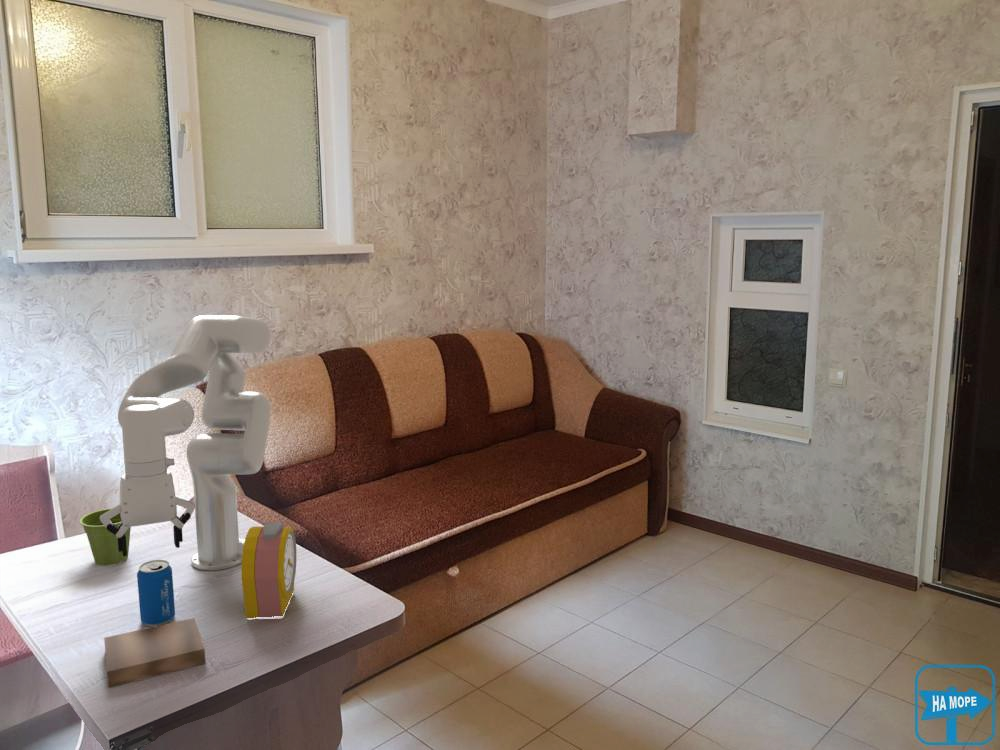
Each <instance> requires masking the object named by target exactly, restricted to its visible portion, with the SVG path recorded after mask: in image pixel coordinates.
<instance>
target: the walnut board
mask: <svg viewBox="0 0 1000 750" xmlns="http://www.w3.org/2000/svg"><path fill="white" fill-rule="evenodd" d="M103 639H104V641H103V642H104V650H105V652H104V653H105V663H106V673H107V683H108V684H107V685H108V688H114V687H116V686H120V685H125V684H129V683H131V682H135V681H141V680H145V679H149V678H152V677H157V676H161V675H164V674H165V675H166V674H169V673H172V672H173V673H174V672H176V671H177V672H178V671H180V670H185V669H189V668H192V667H193V668H194V667H196V665H197V666H200V665H201V666H202V665H204V663H206V651H205V650H206V649H205V646H204V643H203V639H202V637H201V634H200V630H199V628H198V624H197V621H196V618H195V617H192V618H188V619H184V620H180V621H174V622H170V623H169V622H168V623H166V624H164V625H160V626H150V627H147V628H143V629H138V630H134V631H128V632H125V633H120V634H116V635H110V636H106V637H104V638H103Z"/></svg>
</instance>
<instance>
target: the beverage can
mask: <svg viewBox="0 0 1000 750" xmlns="http://www.w3.org/2000/svg"><path fill="white" fill-rule="evenodd" d="M136 578H137V579H136V580H137V590H138V591H137V592H138V603H139V617H140V622H141V623H142V624H144V625H145V626H149V627H155V626H160V625H164V624H169V622H171V620H172V619H174V617H175V616H176V607H175V595H174V580H173V569H172V567H171V565H170V562H169V561H168V560H164V559H154V560H149V561H145V562H143V563H142V564H140V565H139V567H138V571H137V572H136Z"/></svg>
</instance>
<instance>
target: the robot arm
mask: <svg viewBox="0 0 1000 750" xmlns="http://www.w3.org/2000/svg"><path fill="white" fill-rule="evenodd" d="M270 330H271V329H270V327H269V326H268V324H267V322H266V321H265V320H264V319H261V318H257V317H256V318H255V317H248V316H241V315H229V314H228V315H226V314H222V315H221V314H220V315H217V314H215V315H214V314H205V315H203V314H202V315H198V316H194V317H193V318H192V319H190V320H189V321H188V323H187V324H186V326H185V328H184V330H183V331H182V334H181V335H180V337H179V338H178V341H177V343H176V344H175V346H174V348H173V350H172V352H171V354H170V356H169V357H168V358H167V359H164V360H162V361H161V362H159V363H157V364H155V365H153V366H152V367H151V368H149V369H148V370H146V371H145V372H143V373H141V374H140V375H139V376H138V377H136V378H135V380H134V381H132V383H131V384H130V386H129V387H128V389H127V390H126V392H125V394H124V396H123V398H122V400H121V402H120V405H119V408H118V410H117V411H118V413H117V420H118V424H119V426H120V428H121V430H122V431H121V433H122V447H123V461H124V473H123V474H122V475H120V480H119V503H118V504H117V505H116V506H114V507H112V509H111V510H109V511H107V512H106V513H104V514H102V515H101V516H100V521H101V522H102V523H103V525H104V526H105V527H106V528H107V530H108V531H110V532H111V533H113V534H114V535H116V537H117V538H118V551H119V552H121V551H122V553H123V557H125V556H126V555H127V546H126V536H125V532H126V531H127V530H128V528H129V527H131V528H132V527H139V526H146V525H147V526H148V525H154V524H160V523H165V522H171V523H172V524H173V526H172V528H173V529H172V530H173V542H174V546H175V547H174V548H176V549H178V548H180V547H181V546H180V543H182V542H183V541H184V540H183V527H184V526H185V524H186V523H188V521H189V520H190V519H191V518H192V514H195V515H194V516H195V528H196V529H195V530H196V531H195V532H196V544H197V546H196V547H197V552H196V553H194V554H193V555H192V556H191V560H190V561H191V565H192V567H194V568H196V569H198V570H204V571H218V570H224V569H228V568H231V567H235V566H237V565H239V564H241V563H242V554H243V547H244V542H245V539H242V538H240V536H239V521H238V517H239V516H238V500H237V499H238V497H237V488H236V486H235V483H234V481H233V479H232V478H231V477H230V475H241V476H242V475H244V476H245V475H253V474H256V473H258V472H259V471H260V470H261V468H262V467H263V463H264V459H265V453H266V450H267V449H266V447H267V442H268V435H269V429H270V423H271V416H272V415H271V413H272V410H271V403H270V400H269V399H268V397H267V396H266V394H264V393H262V392H259V391H248V390H245V391H244V387H245V383H246V382H245V381H246V373H245V371H244V368H243V367H242V365H241V363H240V362H239V361H238V360H237V358H236V357H235V356H234V354H261V353H264V351H266V350H267V348H268V347H269V346H270V342H271V331H270ZM207 375H208V378H207V384H206V389H205V393H204V398H203V399H204V400H203V404H202V409H201V411H202V412H201V419H202V423H203V425H204V426H206V427H207V428H209V429H213V430H218V431H219V430H221V431H244V433H242V434H241V433H221V432H220V433H214V432H213V433H212V432H210V433H208V432H206V433H200V434H198V435H196V436H193V437H192V439H191V440H190V441H189V442H188V444H187V446H186V459H187V461H186V462H187V463H188V467H189V471H190V474H191V475H190V476H191V481H192V489H193V501H194V502H193V501H190V500H188V499H183V498H180V497H177V496H176V491H175V485H174V479H173V475H172V472H171V469H168V468H169V467H171V466H175V464H176V463H175V458H168V457H167V448H166V445H167V444H166V437H169V436H177V435H180V434H182V433H184V432H186V431H187V430H188V429H189V428H190V427H191V426H192V424H193V423H194V419H195V412H194V411H195V410H194V407H193V406H192V404H191V403H190V402H189V401H188V400H185V399H183V398H177V397H161V396H162V395H165V394H168V393H170V392H172V391H176V390H179V389H182V388H186V387H189V386H192V385H194V384H197V383H199V382H202V380H204V379H205V378H206V377H207ZM177 506H179V507H182V508H185V511H184V512H183V513H182V515H181V516H178V509H177V508H178V507H177ZM193 512H194V513H193ZM119 513H120V517H121V520H122V522H121V523H120V524H119V526H118V527H117V526H116V525H114V524H113V523H112V522H111V521H110V519H111V518H112V517H114V516H116V515H117V514H119Z"/></svg>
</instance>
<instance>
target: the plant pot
mask: <svg viewBox="0 0 1000 750" xmlns="http://www.w3.org/2000/svg"><path fill="white" fill-rule="evenodd" d="M112 508H113V507H112ZM112 508H104V509H100V510H99V509H98V510H95V511H92V512H89V513H87V514H85V515H83V516H82V517H81V518H80V520H79V523H80V525H82V527H83V530H84V532H85V534H86V537H87V540H88V543H89V546H90V550H91V553H92V556H93V560H94V563H95V564H96V565H100V566H103V567H107V566H115V565H118V564H120V563H121V562H124V561H126V560H127V559H128V558H129V550H130V539H131V531H132V527H129V528H128V530H127V531H126V532H125V536H126V546H127V555H126V556H125V557H123V553H122V551H121V552H119V551H118V538H117V537H116V535H114V534H113V533H111V532H110V531H108V530H107V528H106V527H105V526H104V525H103V523H102V522H101V521H100V516H101V515H102V514H104V513H106V512H107V511H109V510H111V509H112ZM110 521H111V522H112V523H113V524H114V525H116V526H117V527H118V526H119V524H120V523H121V522H122V520H121V517H120V513H119V514H117V515H116V516H114V517H112V518H111V519H110Z"/></svg>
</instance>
